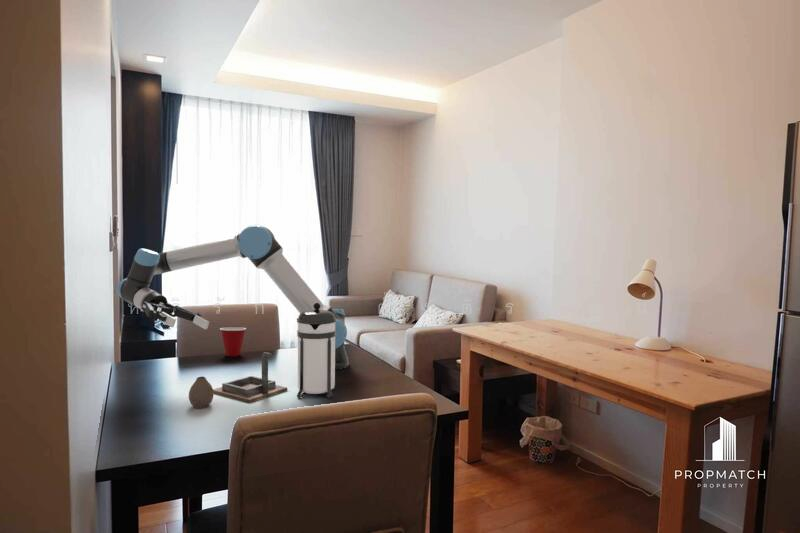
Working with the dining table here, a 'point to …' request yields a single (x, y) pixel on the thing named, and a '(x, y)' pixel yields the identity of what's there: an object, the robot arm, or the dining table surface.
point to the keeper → (251, 386)
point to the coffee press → (316, 352)
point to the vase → (201, 393)
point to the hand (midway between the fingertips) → (191, 324)
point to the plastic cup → (232, 340)
